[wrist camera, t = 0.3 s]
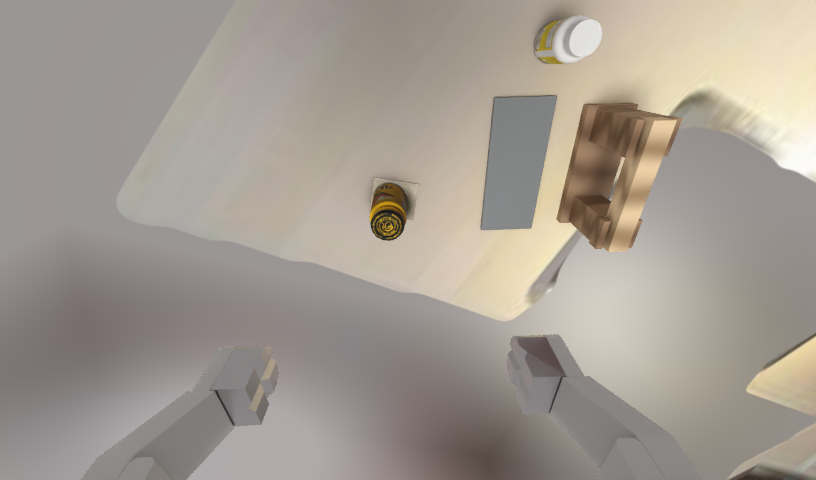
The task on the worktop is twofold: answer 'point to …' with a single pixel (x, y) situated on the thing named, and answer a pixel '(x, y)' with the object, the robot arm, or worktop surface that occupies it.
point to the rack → (601, 165)
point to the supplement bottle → (567, 40)
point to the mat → (516, 160)
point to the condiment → (391, 207)
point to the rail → (636, 182)
